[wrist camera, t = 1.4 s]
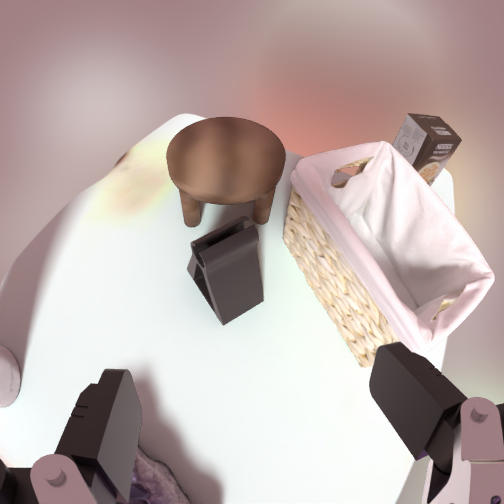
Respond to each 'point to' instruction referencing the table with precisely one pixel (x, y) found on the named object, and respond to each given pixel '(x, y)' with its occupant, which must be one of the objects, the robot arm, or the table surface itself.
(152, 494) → the geode
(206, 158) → the stool
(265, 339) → the table surface
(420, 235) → the storage basket
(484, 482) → the robot arm
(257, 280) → the phone stand
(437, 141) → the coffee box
